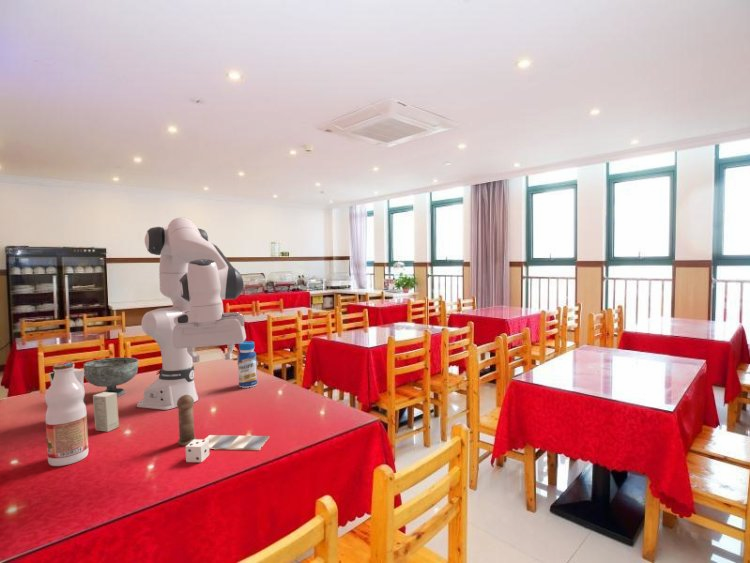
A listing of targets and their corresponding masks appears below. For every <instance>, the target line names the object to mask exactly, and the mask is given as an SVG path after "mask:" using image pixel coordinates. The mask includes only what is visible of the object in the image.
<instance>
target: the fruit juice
mask: <svg viewBox="0 0 750 563" xmlns="http://www.w3.org/2000/svg"><path fill="white" fill-rule="evenodd" d="M75 366H76V365H75V362H74V361H64V362H58V363H55V364H53V365H52V372H53V371H54V372H55V374H54V378H53V381H52V384H51V383H50V386H49V387H48V388H47V390H46V392H45V395H44V401H45V403H46V406H47V408H46V412H45V430H46V432H45V433H46V448H47V449H46V450H47V453H46V454H47V462H48V465H50V466H51V467H62V466H68V465H71V464H75V463H78V462H80V461H82V460H83V459H85V458H86V457H87V456H88V454H89V450H90V449H89V433H88V432H89V430H88V415H87V414H88V413H87V411H88V410H87V406H86V403H85V404H84V402H85V401H84V402H83V399H84V400H85V394H86V391H85V386H84V387H83V385H82V384H81V383H80V382H79V381H78V380H77V378H76V376H75V374H74V371H73V369H75Z"/></svg>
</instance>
